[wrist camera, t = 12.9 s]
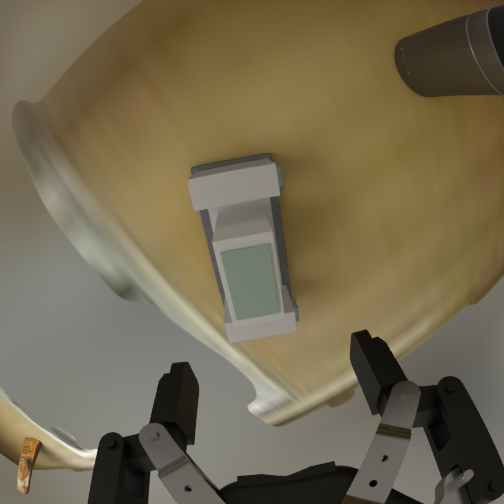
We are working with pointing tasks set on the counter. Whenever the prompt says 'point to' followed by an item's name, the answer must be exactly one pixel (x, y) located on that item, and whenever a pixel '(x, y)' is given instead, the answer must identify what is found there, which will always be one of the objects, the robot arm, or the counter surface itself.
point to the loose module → (248, 266)
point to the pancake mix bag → (27, 463)
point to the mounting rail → (236, 197)
